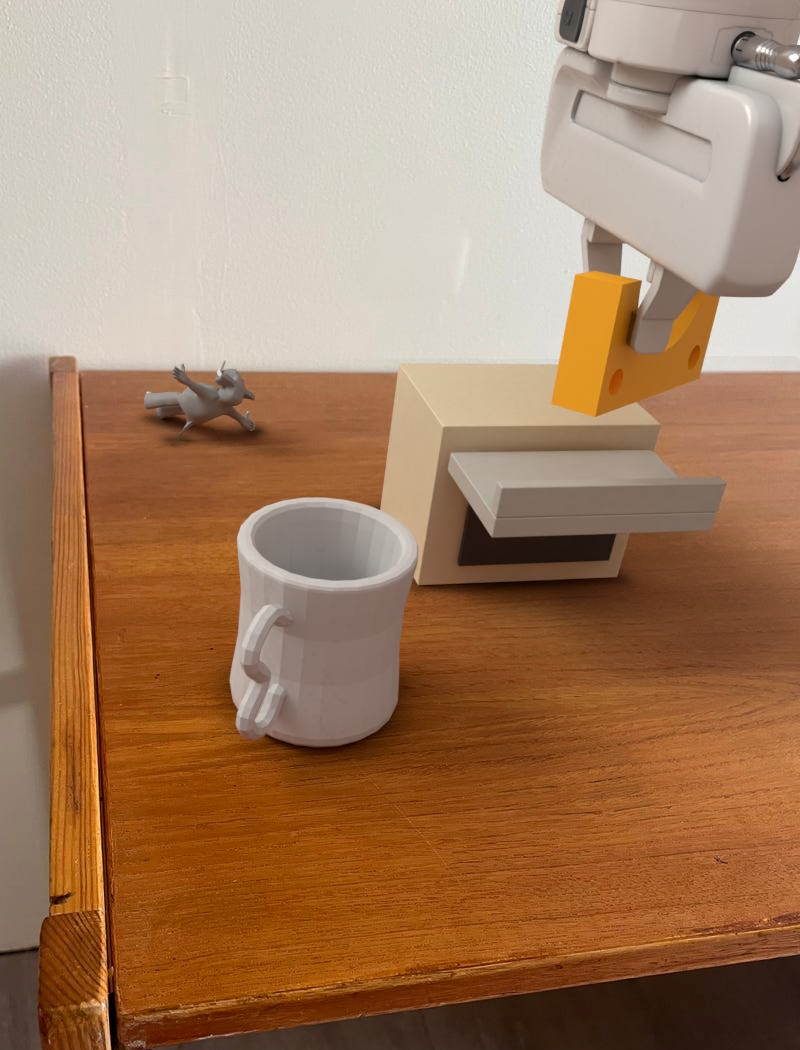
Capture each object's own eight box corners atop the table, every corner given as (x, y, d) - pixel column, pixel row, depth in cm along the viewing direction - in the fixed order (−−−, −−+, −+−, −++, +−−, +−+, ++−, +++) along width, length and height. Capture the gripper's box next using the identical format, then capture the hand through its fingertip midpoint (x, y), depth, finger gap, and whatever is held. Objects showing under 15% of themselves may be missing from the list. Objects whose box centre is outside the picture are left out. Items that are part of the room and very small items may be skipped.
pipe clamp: (631, 361, 62) (656, 249, 59) (699, 379, 60) (728, 262, 57) (522, 395, 54) (544, 267, 51) (595, 417, 52) (622, 284, 49)
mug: (281, 631, 61) (292, 478, 55) (422, 684, 58) (450, 528, 52) (159, 749, 52) (157, 580, 46) (320, 819, 49) (340, 648, 43)
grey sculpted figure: (200, 400, 88) (285, 391, 83) (185, 466, 87) (269, 461, 82) (118, 343, 80) (206, 329, 75) (100, 414, 79) (188, 405, 74)
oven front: (560, 506, 77) (596, 358, 70) (677, 652, 62) (736, 482, 56) (379, 510, 74) (399, 356, 68) (457, 665, 60) (492, 487, 53)
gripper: (909, 58, 38) (782, 411, 46) (657, 5, 54) (595, 273, 62) (757, 46, 37) (654, 411, 45) (545, -4, 53) (497, 271, 61)
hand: (618, 330), depth 54 cm, fingers closed on pipe clamp, 4 cm apart
